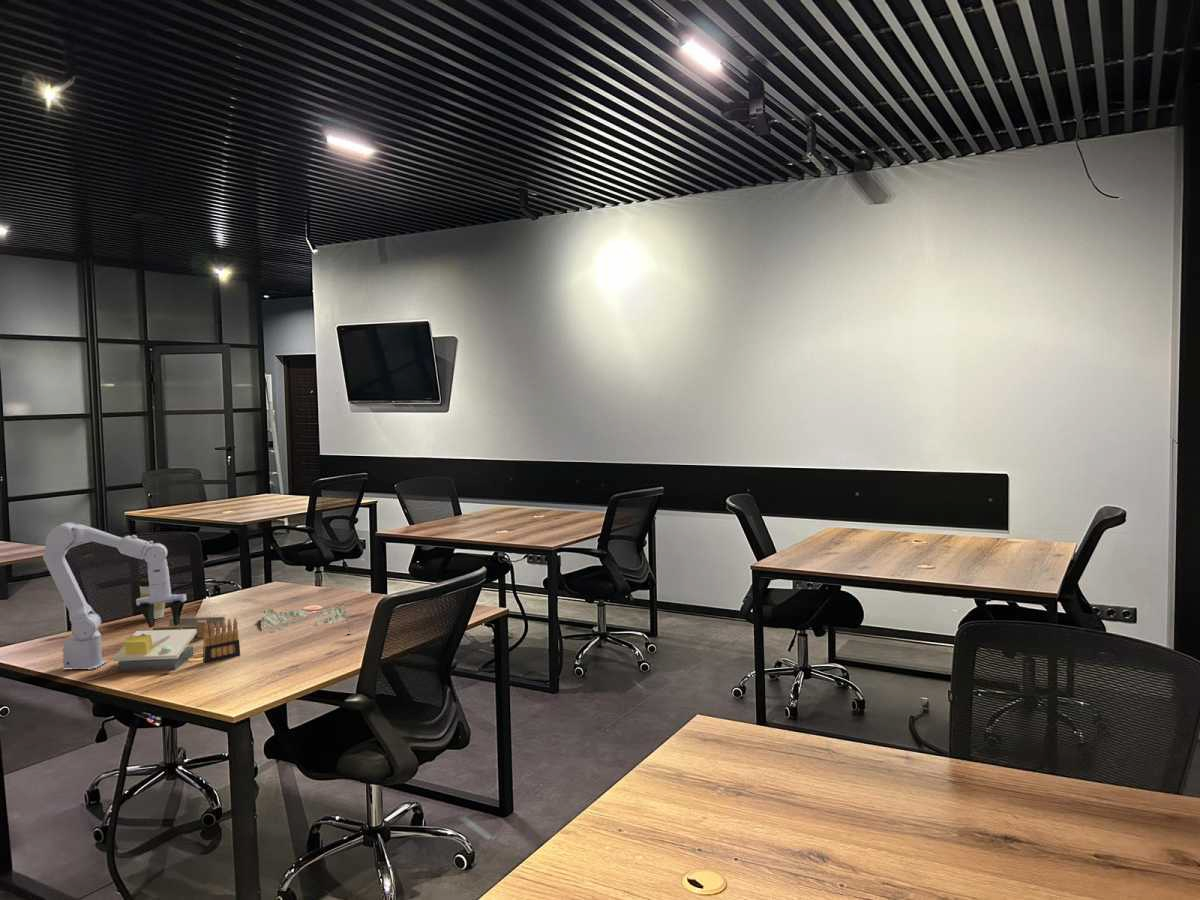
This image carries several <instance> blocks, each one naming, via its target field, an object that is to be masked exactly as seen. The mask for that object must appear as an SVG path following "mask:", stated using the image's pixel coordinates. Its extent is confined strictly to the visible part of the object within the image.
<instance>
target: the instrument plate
mask: <svg viewBox="0 0 1200 900" xmlns="http://www.w3.org/2000/svg"><path fill="white" fill-rule="evenodd" d="M196 633H197V629H181V630H153V629H152V630H136V631H135V632H134V633H133V634H132V635H129V636H128V637H127V639H125V641H123V645H122V647H121V648H120V649H119V650H118V651H117V652H116V653H115V655H114V656H113V657H112V660H113V662H119V661H134V660H160V659H178V657H179V656H180V655H181V653H182V652H183V650H184V649H185V648H186V647H188V646H189V644H190V643H191V641H192V640H193V639H194V638H195V637H194V636H195V634H196Z"/></svg>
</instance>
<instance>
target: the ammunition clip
mask: <svg viewBox="0 0 1200 900" xmlns="http://www.w3.org/2000/svg"><path fill="white" fill-rule="evenodd" d="M232 624H233V626H232ZM226 626H227V627H226ZM202 649H203V650H202V653H203V654H202V662H203V663H205V664H208V663H212V661H213V662H217V660H218V661H222V660H226V658H227V659H230V657H232V658H236V657H235V656H237V657H241V646H240V639H239V629H238V620H237V619H236V617H235V618H234V619H233V623H232V621H231V619H230V618H229V619H228V621H227V625H226V620H225V621H224V620H223V622H222V629H220V625H219V622H218V621H217V624H216V629H214V625H213V623H211V626H210V637H209V632H208V625H207V623H206V624H205V627H204V638H203V647H202Z"/></svg>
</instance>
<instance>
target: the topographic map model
mask: <svg viewBox="0 0 1200 900" xmlns="http://www.w3.org/2000/svg"><path fill="white" fill-rule="evenodd" d="M345 606H346V605H345V602H342V603H341V604H340V605H339V606H338V607H333V606H331V607H330V608H326V609H322V610H321V611H322V612H323V611H325V612H323V613H321V614H318V616H322V615H326V614H331V615H336V614H339V613H342V614H341V615H340V614H339V615H336V616H335V618H331V617H330V615H328V616H329V617H327V618H326V619H325V620H324V621H323V623H328V624H331V623H332V622H339V621H342V620H347V621H348V615H347V612H346V611H347V610H346V607H345ZM312 613H314V612H313V611H309V610H308V611H306V610H304V609H303V610H298V609H292V610H289V611H286V612H283V611H280V613H279V612H277V611H276V610H273V609H267V610H262V611H261V621H260V630H261V629H262V628H264V627H266V626H271V625H277V624H278V623H284V624H283V626H288V625H291V624H289V623H291V622H288V621H297V620H291V619H287V618H286V617H294V618H295V617H296V618H299V617H305V616H308V615H306V614H312ZM315 617H316V616H315ZM323 617H326V616H323ZM319 618H321V617H319ZM320 624H322V622H320V623H319V622H315V624H314V625H313V626H319V625H320ZM279 630H284V628H279V629H278V630H276V629H275V630H273V631H272V630H270V631H269V632H270V633H275V632H278V631H279Z"/></svg>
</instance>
